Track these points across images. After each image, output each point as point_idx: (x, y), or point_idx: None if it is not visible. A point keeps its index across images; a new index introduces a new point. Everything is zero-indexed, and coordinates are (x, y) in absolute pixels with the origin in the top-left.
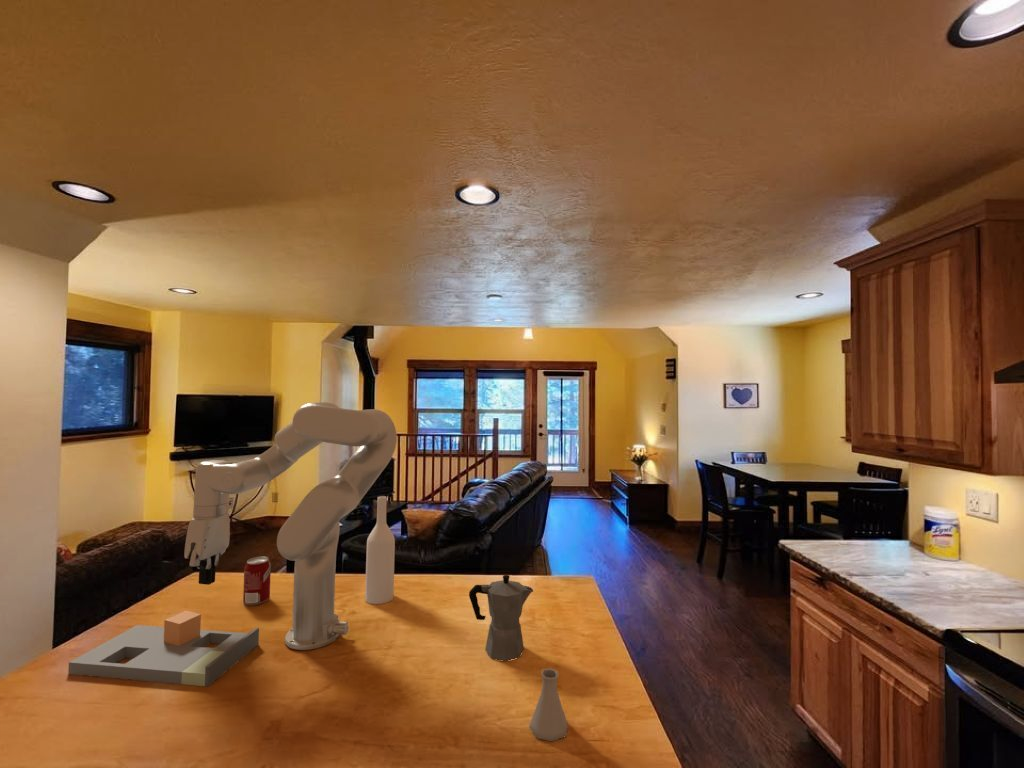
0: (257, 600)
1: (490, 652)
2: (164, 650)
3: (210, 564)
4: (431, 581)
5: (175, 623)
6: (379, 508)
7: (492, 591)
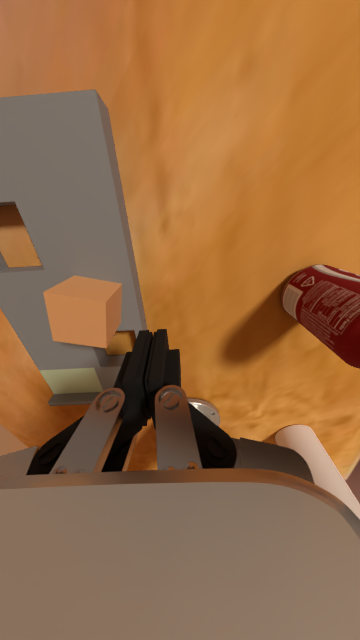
0: (287, 311)
1: None
2: None
3: (130, 448)
4: (337, 457)
5: (51, 328)
6: None
7: None
